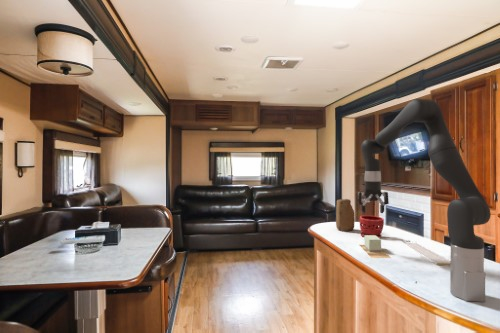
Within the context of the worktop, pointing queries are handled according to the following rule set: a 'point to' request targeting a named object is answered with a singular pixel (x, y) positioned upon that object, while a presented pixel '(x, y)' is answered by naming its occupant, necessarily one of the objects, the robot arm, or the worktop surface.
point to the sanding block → (372, 243)
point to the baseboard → (429, 254)
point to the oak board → (376, 253)
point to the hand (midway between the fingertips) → (372, 212)
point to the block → (344, 215)
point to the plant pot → (371, 225)
